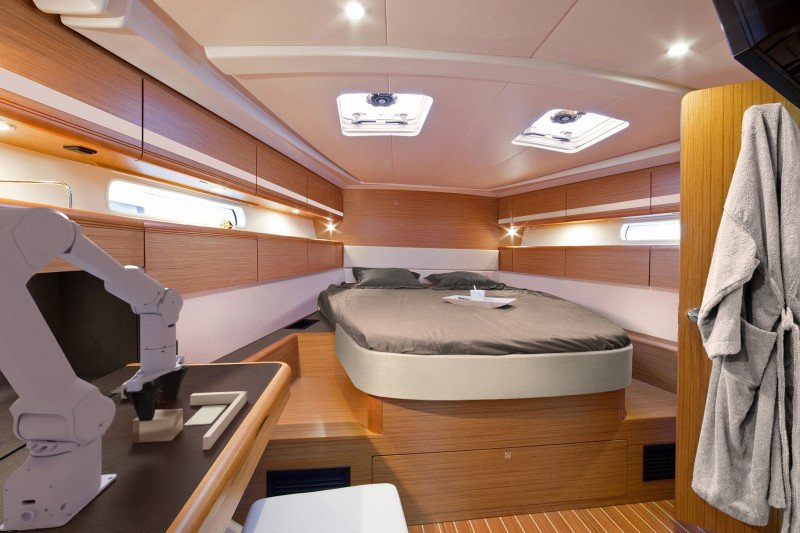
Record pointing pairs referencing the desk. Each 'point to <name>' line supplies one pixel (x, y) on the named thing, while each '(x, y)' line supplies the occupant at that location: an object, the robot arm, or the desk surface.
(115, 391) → the usb wall charger
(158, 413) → the ash block
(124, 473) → the desk surface
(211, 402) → the corner arena
